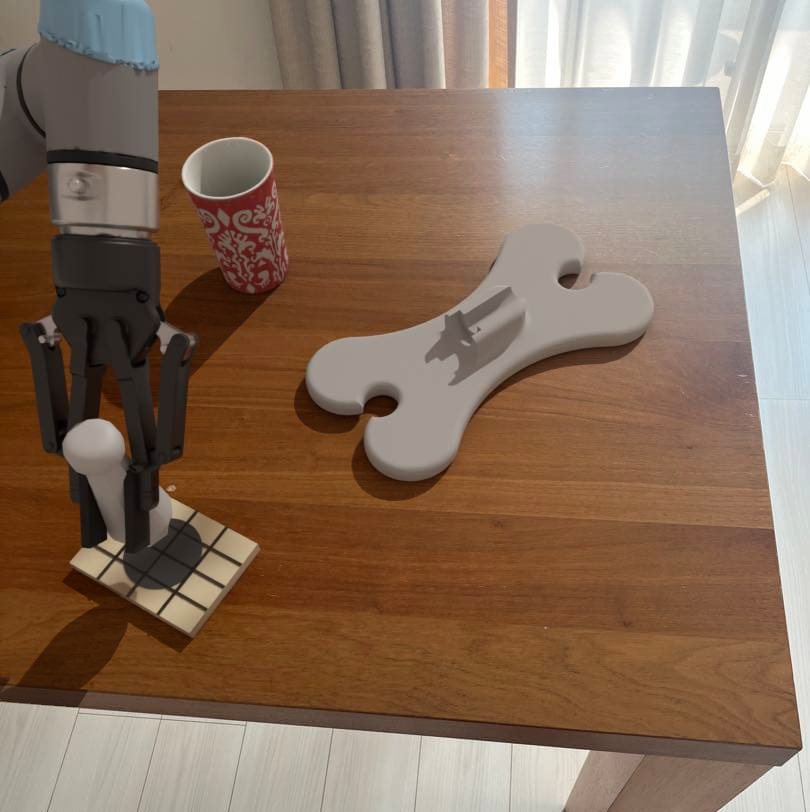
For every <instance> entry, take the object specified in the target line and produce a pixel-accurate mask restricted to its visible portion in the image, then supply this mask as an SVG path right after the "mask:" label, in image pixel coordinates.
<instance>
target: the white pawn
mask: <svg viewBox="0 0 810 812" xmlns="http://www.w3.org/2000/svg"><path fill="white" fill-rule="evenodd" d="M62 445H63V453H64V456H65V459H66V460H67V461H68V463H69V464H70V465H71V466H72V467H73V469H74V470H75V471H76V472H78V473H81V474H84V475H86V476H87V479H88V482H89V485H90V487H91V490H92V492H93V495H94V497H95V500H96V502H97V505H98V507H99V509H100V512H101V514H102V517H103V519H104V522H105V524H106V527H107V533H108V534H109V535H110V537H111V538H112V539H114V540H115V541H118V542H121V543H124V544H125V513H124V479H125V476H126V474H127V473H126V471H128V470H130V469H129V467H128V465H131V464H133V462H132V457H130V456H129V455H128V454H127V453H126V446H125V439H124V436H123V435H122V433H121V432H120V430H119V429H118V428H116V426H115V425H114V424H113V423H112V422H111V421H108V420H105V419H102V418H100V417H99V419H89V420H85V421H83V422H80V423H78V424H76V425H75V426H74V427H73V428H72V429H71V430H70V431H69V432H68V433H67V434H66V437H65V439H64V441H63V443H62ZM65 459H64V460H65ZM66 460H65V461H66ZM67 461H66V462H67ZM68 463H67V464H68ZM170 497H171V496H170V495H169V494H168V493H167V492H166V490H164V489H163V487H162V486H161V485H159V503H158V506H157V507H156V508H154V509H152V510H150V511H149V512H150V545H148V546H147V547H151V546H152V545H153V544H155V543H156V542H158V541H159V540H160V539H162V538H163V537H164V536H166V535H167V534H168V525H169V522H170V519H171V516H172V513H173V512H172V506H171V500H170Z"/></svg>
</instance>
